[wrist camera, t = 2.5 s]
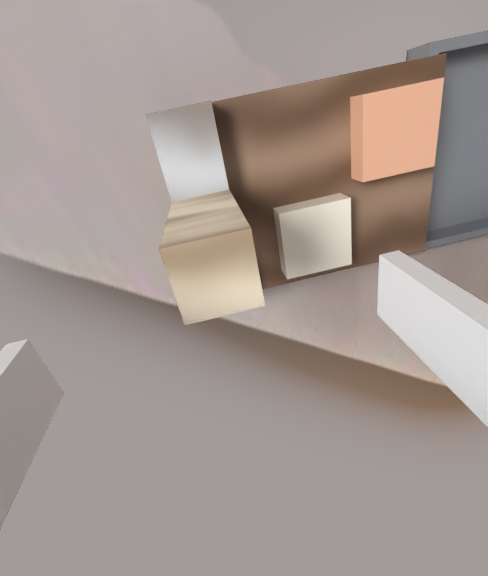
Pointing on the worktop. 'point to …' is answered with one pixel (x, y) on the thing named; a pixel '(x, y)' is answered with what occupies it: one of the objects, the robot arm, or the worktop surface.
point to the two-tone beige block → (203, 219)
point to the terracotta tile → (395, 130)
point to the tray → (460, 141)
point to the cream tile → (314, 235)
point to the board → (321, 164)
